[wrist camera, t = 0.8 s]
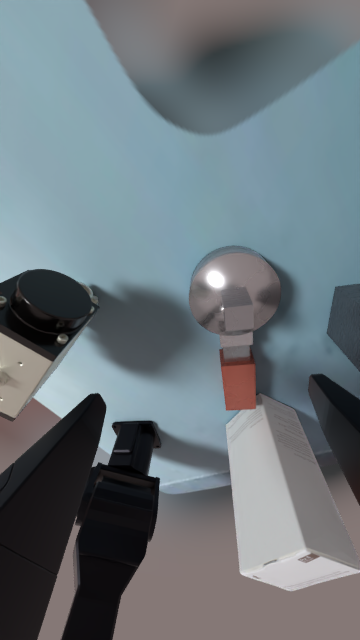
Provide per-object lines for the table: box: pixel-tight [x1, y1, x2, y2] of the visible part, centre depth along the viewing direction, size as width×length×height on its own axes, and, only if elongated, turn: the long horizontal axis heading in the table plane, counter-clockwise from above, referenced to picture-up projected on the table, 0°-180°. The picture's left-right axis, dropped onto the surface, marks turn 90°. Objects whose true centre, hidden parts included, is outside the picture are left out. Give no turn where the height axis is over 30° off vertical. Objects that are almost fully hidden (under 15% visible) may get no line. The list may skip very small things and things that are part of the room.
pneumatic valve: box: [0, 269, 99, 421], centre depth 18 cm, size 6×12×12 cm, turn 140°
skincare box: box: [226, 393, 360, 591], centre depth 24 cm, size 8×6×15 cm
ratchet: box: [189, 246, 281, 410], centre depth 21 cm, size 19×8×6 cm, turn 10°
